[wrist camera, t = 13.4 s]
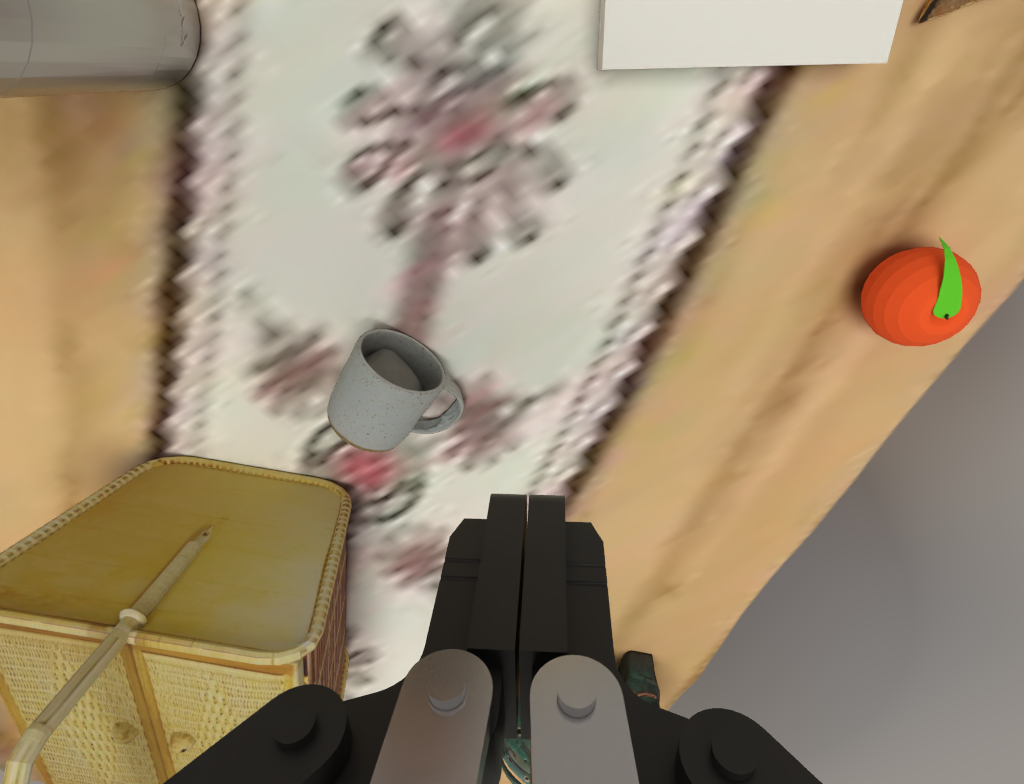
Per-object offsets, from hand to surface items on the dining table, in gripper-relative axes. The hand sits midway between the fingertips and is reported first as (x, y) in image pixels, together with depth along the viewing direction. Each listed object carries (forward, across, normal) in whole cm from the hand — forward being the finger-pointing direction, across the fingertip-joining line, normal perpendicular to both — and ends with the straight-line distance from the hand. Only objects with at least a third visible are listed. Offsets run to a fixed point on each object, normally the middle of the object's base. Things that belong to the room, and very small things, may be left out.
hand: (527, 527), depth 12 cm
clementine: (+35, -26, +6) cm, 44 cm away
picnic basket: (+35, +31, +38) cm, 60 cm away
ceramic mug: (+35, +12, +16) cm, 40 cm away
